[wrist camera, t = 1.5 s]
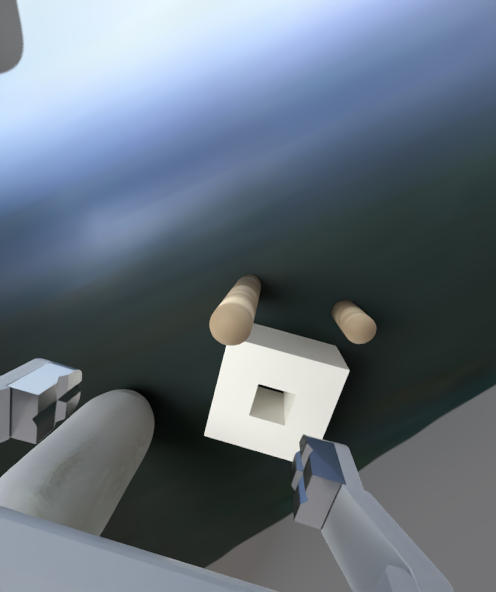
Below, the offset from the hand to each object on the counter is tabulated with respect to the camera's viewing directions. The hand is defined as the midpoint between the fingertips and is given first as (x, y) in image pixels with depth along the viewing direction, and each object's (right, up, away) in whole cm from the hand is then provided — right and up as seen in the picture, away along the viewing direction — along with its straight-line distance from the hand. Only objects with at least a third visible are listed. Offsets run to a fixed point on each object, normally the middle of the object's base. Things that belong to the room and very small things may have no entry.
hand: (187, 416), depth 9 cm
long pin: (+2, +5, +22) cm, 23 cm away
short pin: (+14, +2, +22) cm, 26 cm away
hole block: (+5, -6, +25) cm, 26 cm away
